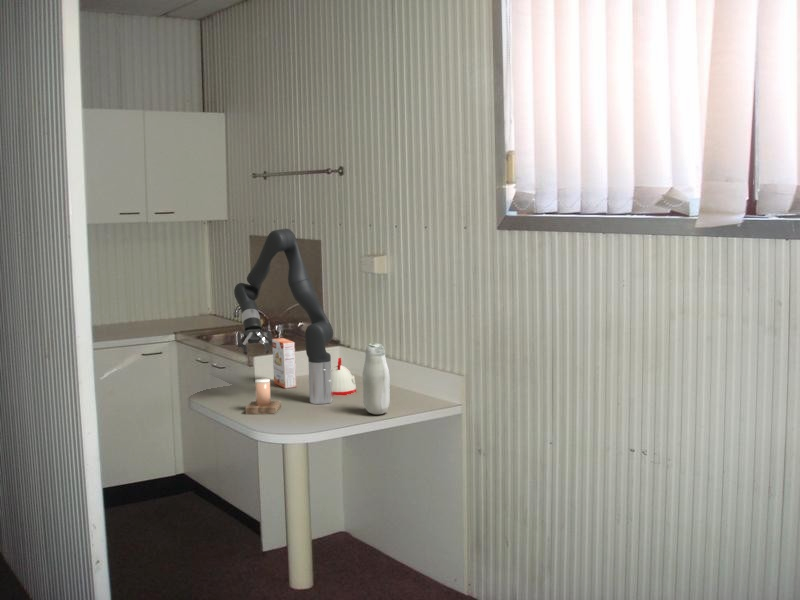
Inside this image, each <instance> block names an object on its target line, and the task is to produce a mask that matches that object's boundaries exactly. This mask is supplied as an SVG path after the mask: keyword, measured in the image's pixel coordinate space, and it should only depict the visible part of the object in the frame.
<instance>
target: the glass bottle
mask: <svg viewBox="0 0 800 600" xmlns="http://www.w3.org/2000/svg"><path fill="white" fill-rule="evenodd" d="M364 352H365V357H364V358H365V359H364V364H363V369H362V392H363V393H362V394H363V405H364V408H365V410H366V412H367V413H370V414H372V415H374V416H378V415H379V416H380V415H382V414H385V413H386V412H387V411H388V409H389V407H390V401H391V400H390V399H391V397H390V396H391V395H390V394H391V392H390V391H391V390H390V389H391V387H390V385H391V382H390V381H391V380H390V371H389V366H388V362H387V358H386V351H385V347H384V346H383V344H382V343H379V342H371V343H368V344H367V346H366V347H365V351H364Z"/></svg>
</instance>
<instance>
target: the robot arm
mask: <svg viewBox="0 0 800 600" xmlns="http://www.w3.org/2000/svg"><path fill="white" fill-rule="evenodd" d="M282 252H284V255H285V256H286V259H287V263H288V274H287V283H288V287H289V289H290V292H291V294H292V297H293V299H294V300H295V301H296V302H297V303H298V304H299V306H300V307H301V308H302V309H303V310H304V312H305V313H306V314H307V315H308V318H309V320H310V323H311V324H309V325H308V326H307V327H306V329H305V333H304V334H305V335H304V341H305V342H304V343H305V344H304V345H305V352H306V357H307V358H308V389H309V392H308V393H309V397H308V398H309V403H310V404H314V405H315V404H316V405H323V404H331V403H332V401H333V400H334V399H333V396H334V395H332V378H331V370H332V362H331V359H332V358H331V354H330V353H329V352H327V350H326V344H328V343H330V342H331V341H332V340H333V337H334V330H333V327H332V324H331V323H330V320H329V319H328V317H327V314H326V313H325V311H324V310H323V307H322V305H321V301H320V300H319V297H318V295H317V292H316V290H315V287H314V285H313V282H312V279H311V278H310V276H309V275H310V274H309V273H308V271H307V268H306V265H305V263H304V260H303V257H302V254H301V250H300V247H299V244H298V240H297V238H296V235H295V233H294V232H293V231H292V230H291V229H289V228H280V229H274V230H272V231H270V232H269V234H268V235H267V237H266V239H265V241H264V244H263V246H262V249H261V251H260V254H259V256H258V258H257V260H256V262H255V263H254V265H253V267H252V268H251V270H249V271H250V272H249V273H248V274H247V276H246V281H247V283H244V282H238V283H237V284H236V285H235V287H234V290H233V294H234V297H235V299H236V301H237V304H238V306H239V308H240V311H241V323H242V327H243V329H242V330H243V333H241V332H237V334H236V339H237V341H236V344H237V347H238V348H242V352H243V354H244V355H245V356H246V355H248V347H247V346H248V345H249V343H251V344H254V343H260V344H261V345H264V350H265V355H266V354H268V353H269V352H270V346H272V339H273V337H272V333H271V331H270V330H267V331H263V328H262V321H261V316H260V313H259V309H258V305H257V301H256V300H257V299H258V298H259V296H260V290H261V288H262V285H263V283H264V281H265V280H266V278H267V276H269V273H270V271H271V263H272V260H273V259H274V258H275V256H276V255H277V254H278V253H282ZM265 337H266V338H267V339H266V338H265ZM243 338H244V341H243V342H242V339H243Z"/></svg>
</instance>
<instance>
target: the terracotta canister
mask: <svg viewBox="0 0 800 600" xmlns="http://www.w3.org/2000/svg"><path fill="white" fill-rule="evenodd" d="M254 383H255V384H254V385H255V386H254V387H255V401H256V405H257V406H268V405H271V401H272V400H271V398H272V397H271V379H270V378H264V377H263V378H258V379H257V378H256V379H255V381H254Z"/></svg>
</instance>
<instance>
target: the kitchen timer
mask: <svg viewBox="0 0 800 600" xmlns="http://www.w3.org/2000/svg"><path fill="white" fill-rule="evenodd" d="M337 359H338V360H337V365H336V366H334V367H333V368H331V378H332V396H334V395H342V396H348V395H347V394H350V395H352V394H351V393H354V392H356V393H357V385H356V379H355V378H356V377H355V374H353V375H352V372H351V371H350V370H349V369H348V368H347V367H346V366H344V365H342V357H338V358H337ZM354 394H355V393H354Z"/></svg>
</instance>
